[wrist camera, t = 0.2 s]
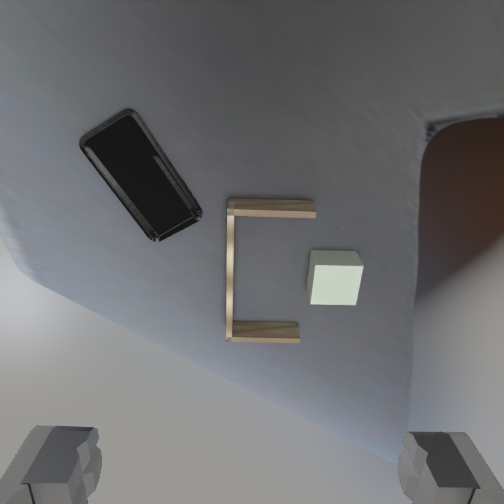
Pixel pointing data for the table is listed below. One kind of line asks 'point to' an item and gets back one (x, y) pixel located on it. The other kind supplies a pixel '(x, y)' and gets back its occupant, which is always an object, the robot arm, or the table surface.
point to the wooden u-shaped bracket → (234, 329)
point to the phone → (141, 175)
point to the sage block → (334, 277)
